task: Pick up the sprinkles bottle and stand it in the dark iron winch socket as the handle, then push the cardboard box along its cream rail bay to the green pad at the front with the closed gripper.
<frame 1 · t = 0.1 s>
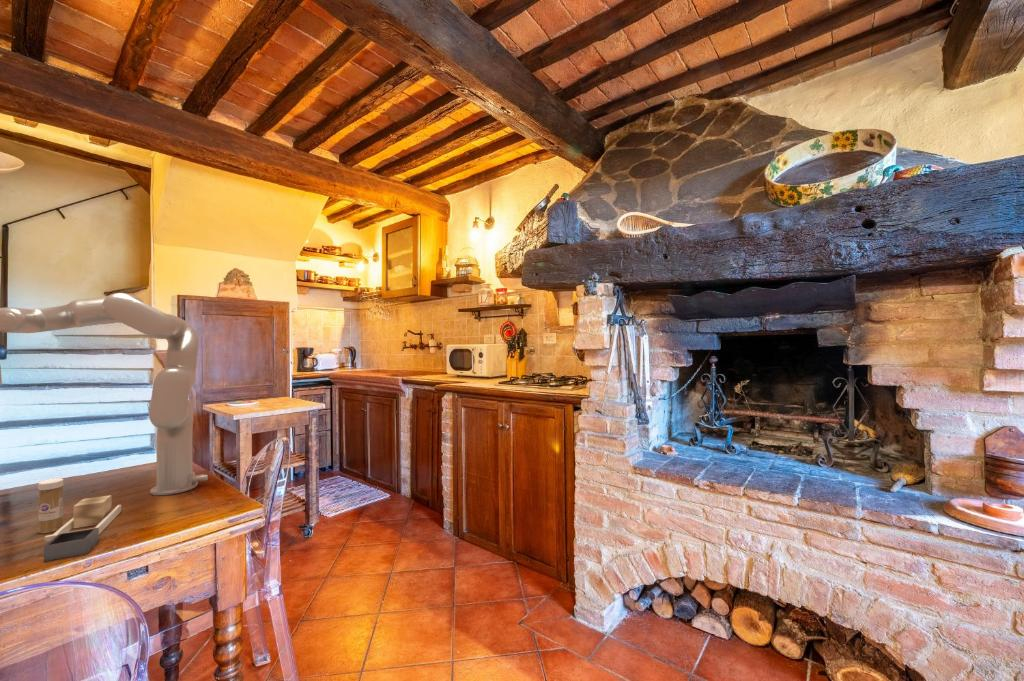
cardboard box: (93, 511, 116), point 3 cm above the table, slide at 0.0 cm
bay: (87, 528, 112), on the table
winch socket: (72, 550, 100), on the table
sprinkles bottle: (51, 531, 111), on the table
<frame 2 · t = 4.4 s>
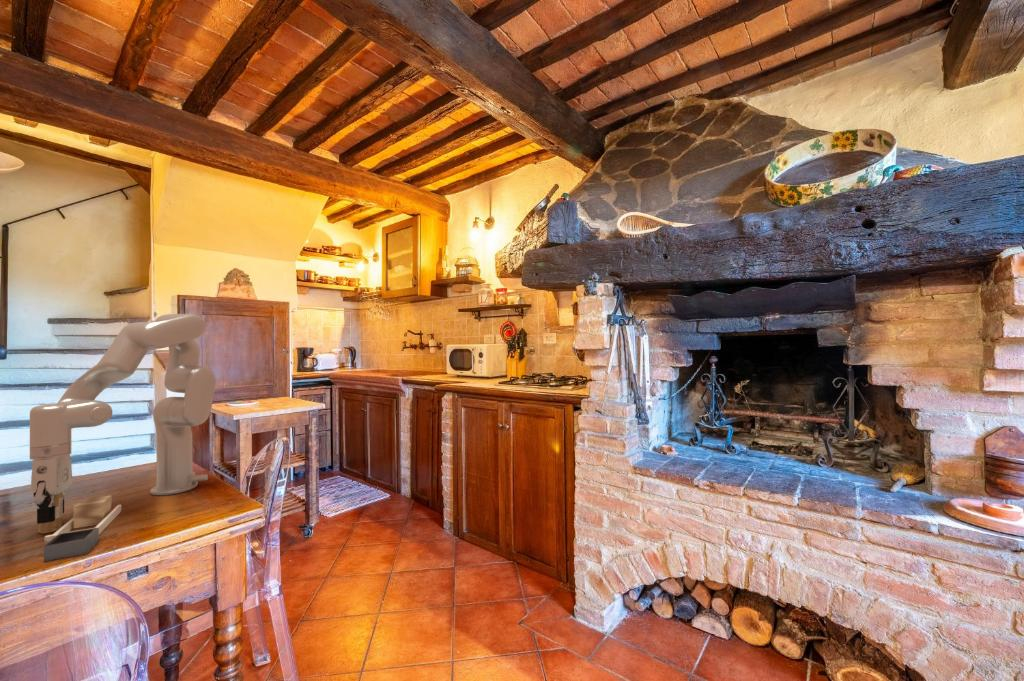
hand: (51, 517, 111), 3 cm above the table, fingers closed on sprinkles bottle, 4 cm apart
sprinkles bottle: (51, 531, 111), on the table, touching gripper
everything else where it was.
when the fingers open (5 cm above the table, at t = 10.2 s): sprinkles bottle drops 2 cm, resting in winch socket.
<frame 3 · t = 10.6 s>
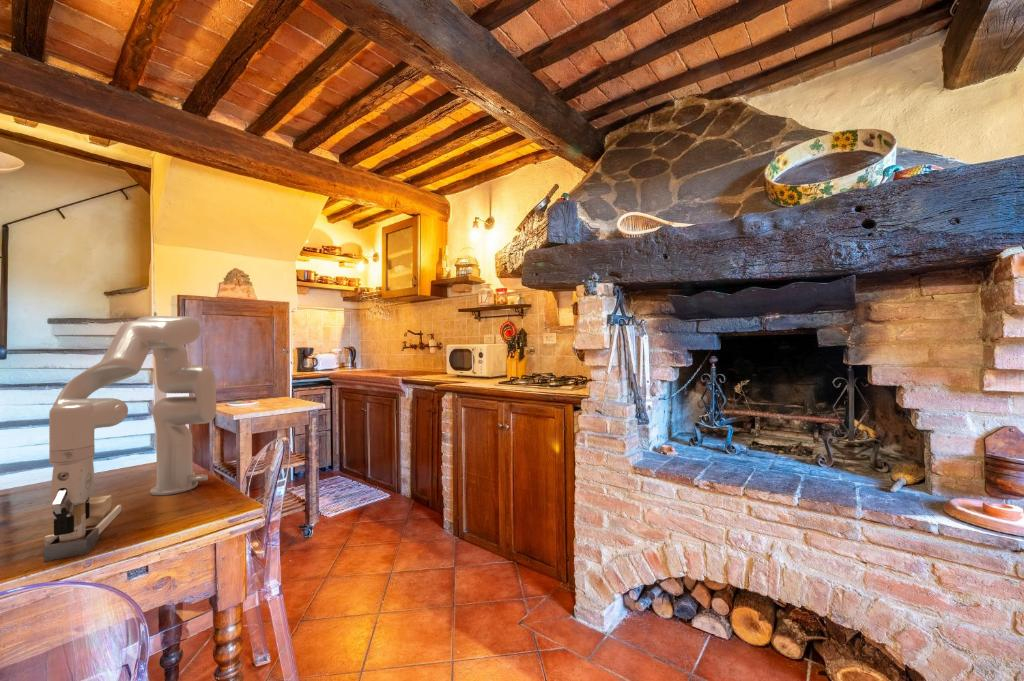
hand: (72, 526, 100), 6 cm above the table, fingers open, 8 cm apart
sprinkles bottle: (72, 551, 101), resting in winch socket
everything else where it was.
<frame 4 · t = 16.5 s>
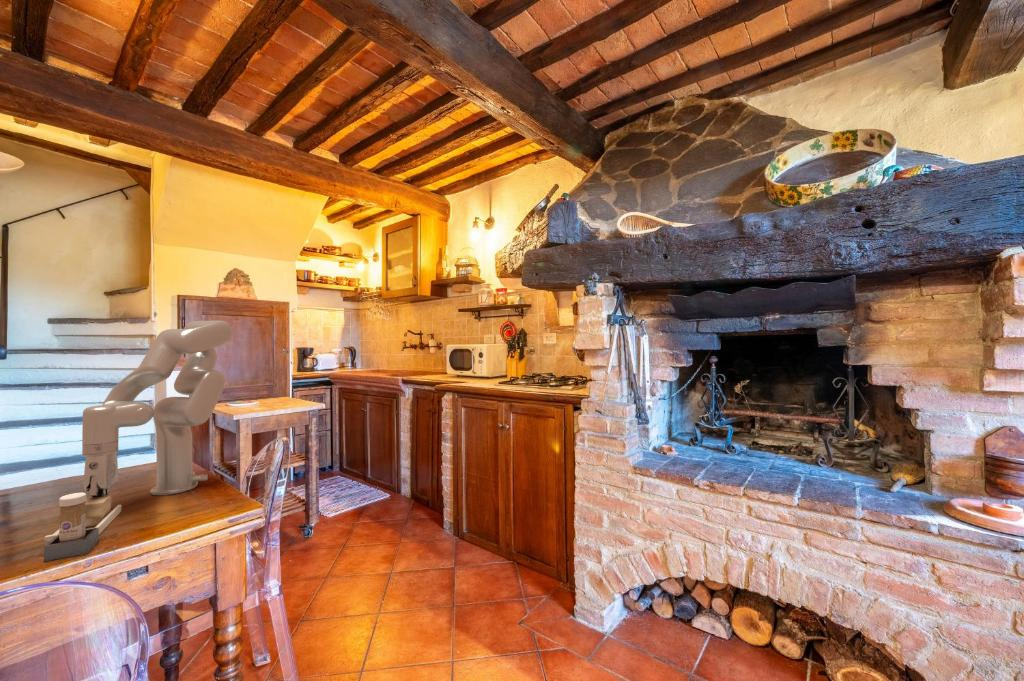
hand: (100, 510, 121), 1 cm above the table, fingers closed
cardboard box: (92, 511, 116), point 3 cm above the table, slide at 0.3 cm, touching gripper
everything else where it was.
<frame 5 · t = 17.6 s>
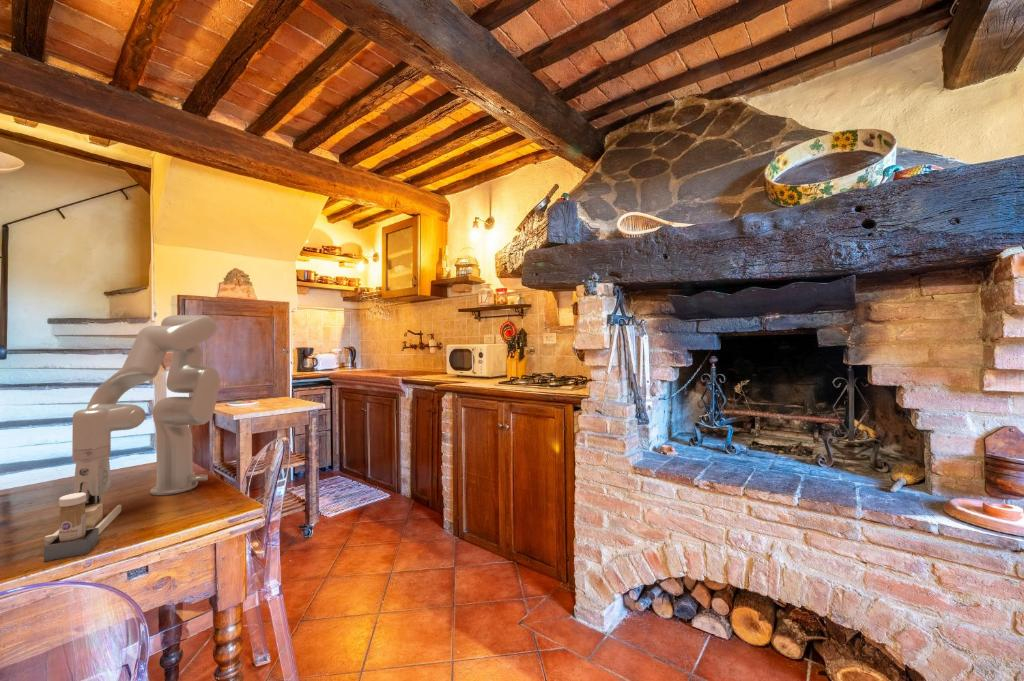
hand: (91, 519, 115), 1 cm above the table, fingers closed
cardboard box: (83, 520, 110), point 3 cm above the table, slide at 6.6 cm, touching gripper
everything else where it was.
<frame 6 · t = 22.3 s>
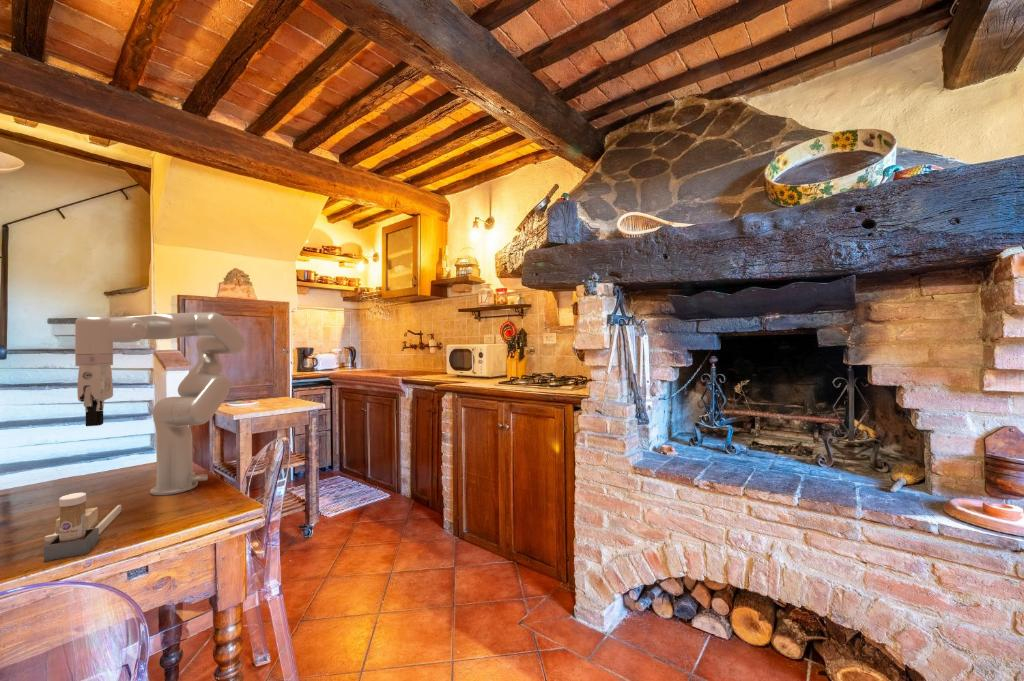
hand: (94, 425, 117), 27 cm above the table, fingers closed
cardboard box: (77, 525, 107), point 3 cm above the table, slide at 10.0 cm
everything else where it was.
at the end: sprinkles bottle 0.3 cm from the winch socket (horizontally); sprinkles bottle tilted 0°; cardboard box slide at 10.0 cm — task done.
